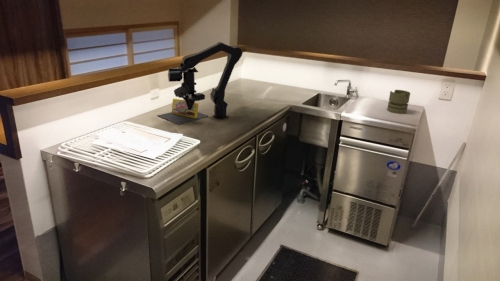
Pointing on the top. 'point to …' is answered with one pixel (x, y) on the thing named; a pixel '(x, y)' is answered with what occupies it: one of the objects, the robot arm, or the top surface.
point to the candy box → (184, 108)
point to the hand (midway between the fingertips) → (189, 109)
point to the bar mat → (181, 117)
